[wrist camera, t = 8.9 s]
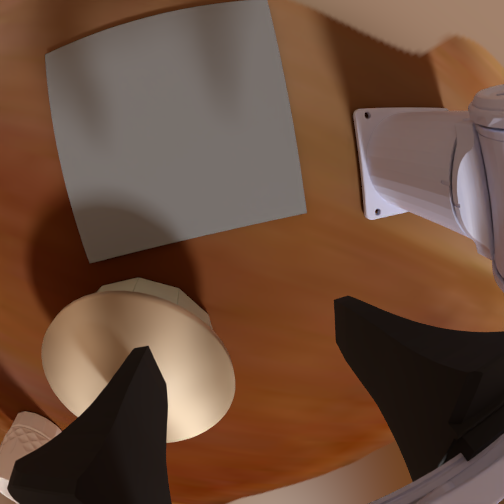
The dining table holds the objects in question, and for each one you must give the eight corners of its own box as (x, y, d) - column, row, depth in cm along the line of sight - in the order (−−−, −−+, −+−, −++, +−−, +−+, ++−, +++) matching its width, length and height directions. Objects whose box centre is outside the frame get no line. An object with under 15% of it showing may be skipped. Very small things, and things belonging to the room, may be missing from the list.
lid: (207, 268, 16) (211, 316, 12) (249, 421, 21) (261, 471, 16) (15, 309, 15) (-20, 352, 11) (97, 439, 20) (88, 484, 15)
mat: (265, 2, 15) (266, -1, 15) (303, 210, 21) (306, 212, 20) (48, 56, 14) (44, 54, 13) (92, 260, 19) (89, 263, 19)
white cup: (5, 418, 23) (-20, 479, 14) (26, 397, 23) (-4, 469, 13) (55, 455, 26) (40, 516, 17) (83, 439, 25) (68, 512, 16)
